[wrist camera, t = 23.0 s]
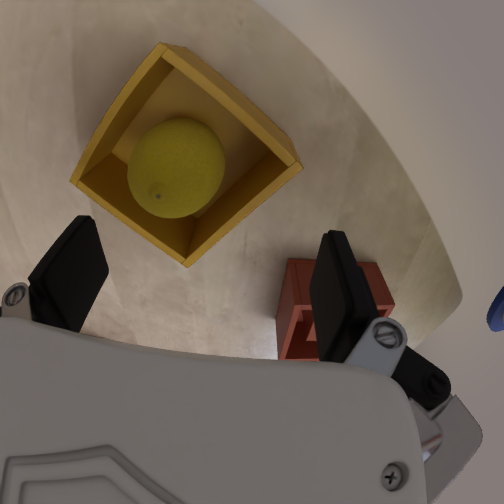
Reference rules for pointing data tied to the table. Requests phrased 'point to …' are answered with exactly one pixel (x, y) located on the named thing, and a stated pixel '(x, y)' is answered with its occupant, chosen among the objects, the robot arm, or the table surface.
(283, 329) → the clay bin
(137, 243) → the table surface
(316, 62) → the table surface
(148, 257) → the table surface
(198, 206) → the lemon
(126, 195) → the yellow bin
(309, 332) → the clay block
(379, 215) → the table surface
